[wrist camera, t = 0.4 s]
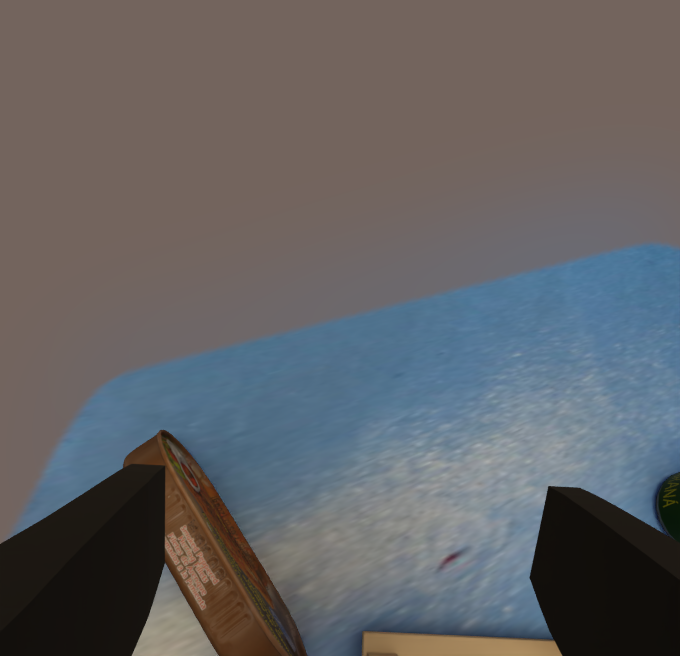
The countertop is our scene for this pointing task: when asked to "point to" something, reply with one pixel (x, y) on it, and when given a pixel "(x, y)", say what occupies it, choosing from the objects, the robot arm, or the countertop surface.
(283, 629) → the tin
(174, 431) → the countertop surface
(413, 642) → the cover plate
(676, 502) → the beer can
